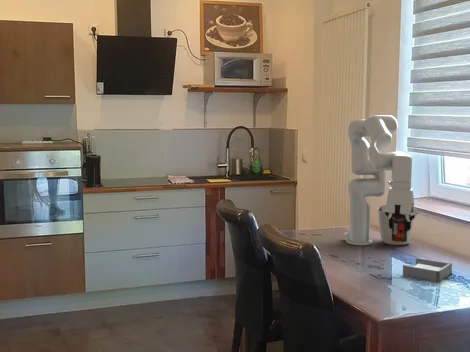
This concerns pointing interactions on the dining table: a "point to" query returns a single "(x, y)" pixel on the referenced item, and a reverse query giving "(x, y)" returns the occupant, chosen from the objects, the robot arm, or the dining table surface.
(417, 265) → the tile back
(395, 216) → the deodorant
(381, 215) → the canister
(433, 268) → the tile front
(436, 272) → the grey u-shaped bracket
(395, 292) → the dining table surface
